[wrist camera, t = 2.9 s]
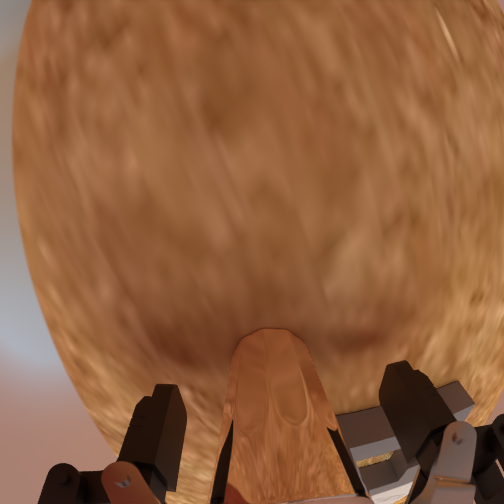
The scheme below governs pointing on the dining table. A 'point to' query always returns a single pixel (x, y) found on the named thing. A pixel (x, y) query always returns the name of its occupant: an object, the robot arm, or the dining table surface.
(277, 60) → the dining table surface
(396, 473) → the frame
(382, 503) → the external hard drive
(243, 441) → the milkshake
